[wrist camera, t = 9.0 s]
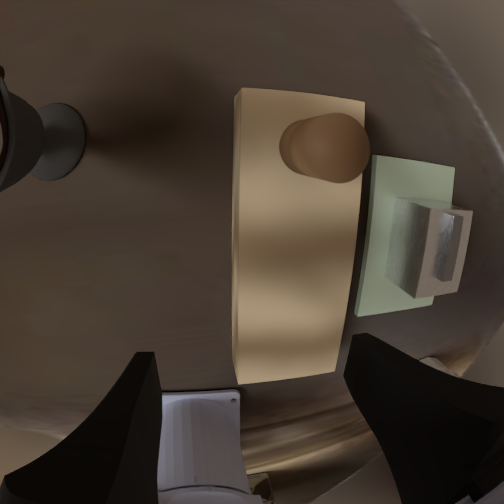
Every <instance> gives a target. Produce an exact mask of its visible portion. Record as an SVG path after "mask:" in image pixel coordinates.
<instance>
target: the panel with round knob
mask: <svg viewBox="0 0 504 504" xmlns="http://www.w3.org/2000/svg"><path fill="white" fill-rule="evenodd" d="M364 120H365V102H361V101H356V100H350V99H344V98H338V97H332V96H325V95H317V94H310V93H301V92H292V91H282V90H270V89H255V88H241V90H240V91H239V92H238V93H237V95H236V96H235V97H234V131H233V186H232V359H233V364H234V368H235V372H236V377H237V381H238V384H248V383H258V382H267V381H275V380H283V379H290V378H297V377H304V376H311V375H317V374H323V373H329V372H334V371H335V367H336V362H337V357H338V353H339V348H340V342H341V337H342V332H343V327H344V321H345V315H346V309H347V303H348V297H349V291H350V284H351V277H352V270H353V263H354V255H355V247H356V238H357V229H358V219H359V209H360V197H361V184H362V172H363V171H364V169H365V168H366V166H367V163H368V161H369V156H370V142H369V138H368V135H367V133H366V131H365V129H364Z"/></svg>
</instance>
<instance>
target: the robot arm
mask: <svg viewBox="0 0 504 504" xmlns="http://www.w3.org/2000/svg"><path fill="white" fill-rule="evenodd" d="M343 376H344V379H345V381H346V384H347V387H348V389H349V391H350V394H351V396H352V398H353V399H354V401H355V403H356V405H357V406H358V408H359V410H360V411H361V413H362V415H363V416H364V418H365V420H366V421H367V423H368V425H369V426H370V428H371V429H372V431H373V433H374V434H375V436H376V438H377V440H378V442H379V443H380V445H381V447H382V450H383V452H384V454H385V457H386V459H387V461H388V464H389V466H390V469H391V472H392V474H393V477H394V480H395V482H396V486H397V489H398V492H399V495H400V498H401V502H402V504H504V388H502V387H496V386H490V385H485V384H480V383H476V382H472V381H468V380H464V379H462V378H459V377H456V376H453V375H450V374H448V373H445V372H442V371H440V370H437V369H435V368H433V367H431V366H429V365H427V364H425V363H422V362H420V361H418V360H416V359H415V358H413V357H411V356H409V355H407V354H405V353H403V352H402V351H400V350H398V349H396V348H394V347H393V346H391V345H389V344H387V343H385V342H384V341H382V340H380V339H378V338H376V337H374V336H372V335H370V334H368V333H362V334H356V335H353V337H352V341H351V346H350V350H349V354H348V359H347V363H346V367H345V371H344V375H343ZM233 398H235V399H234V400H232V399H233ZM0 504H263V503H262V499H261V496H260V495H252V494H251V490H250V486H249V482H248V478H247V473H246V469H245V464H244V460H243V456H242V451H241V446H240V393H239V391H238V390H236V389H230V390H216V391H200V392H174V393H162V390H161V386H160V381H159V375H158V370H157V365H156V359H155V354H154V352H136V353H135V354H134V356H133V358H132V359H131V361H130V362H129V364H128V365H127V367H126V368H125V370H124V371H123V373H122V374H121V376H120V377H119V379H118V380H117V381H116V383H115V384H114V386H113V387H112V388H111V390H110V391H109V392H108V394H107V395H106V396H105V397H104V399H103V400H102V401H101V402H100V404H99V405H98V406H97V407H96V408H95V410H94V411H93V412H92V413H91V414H90V415H89V416H88V417H87V418H86V419H85V420H84V421H83V422H82V423H81V424H80V425H79V426H78V427H77V428H76V429H75V430H74V431H73V432H72V433H71V434H70V435H68V436H67V437H66V438H65V439H64V440H62V441H61V442H60V443H59V444H58V445H57V446H55V447H54V448H52V449H51V450H49V451H48V452H47V453H45V454H44V455H42V456H40V457H39V458H37V459H36V460H34V461H32V462H31V463H29V464H27V465H25V466H23V467H21V468H19V469H17V470H15V471H13V472H12V473H9V474H7V475H5V476H4V479H3V481H2V484H1V487H0Z"/></svg>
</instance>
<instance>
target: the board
mask: <svg viewBox="0 0 504 504" xmlns="http://www.w3.org/2000/svg"><path fill="white" fill-rule="evenodd" d="M454 172H455V168H454V167H449V166H443V165H438V164H432V163H427V162H421V161H415V160H408V159H402V158H395V157H387V156H380V155H372V171H371V185H370V197H369V208H368V218H367V228H366V236H365V245H364V252H363V260H362V267H361V274H360V280H359V287H358V293H357V299H356V305H355V310H354V314H355V315H356V316H357V317H359V316H367V315H373V314H380V313H387V312H393V311H399V310H405V309H411V308H417V307H423V306H428V305H432V303H433V299H434V296H431V297H425V298H419V299H414V298H413V297H411V296H410V295H409V294H407V293H406V292H405V291H403V290H402V289H401V288H399V287H398V286H397V285H395V284H394V283H392V282H391V281H390V280H388V279H387V278H386V277H384V275H385V269H386V263H387V257H388V250H389V243H390V235H391V227H392V219H393V210H394V200H395V197H401V198H416V199H430V200H439V201H442V202H446V203H449V204H451V202H452V193H453V183H454Z"/></svg>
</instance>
